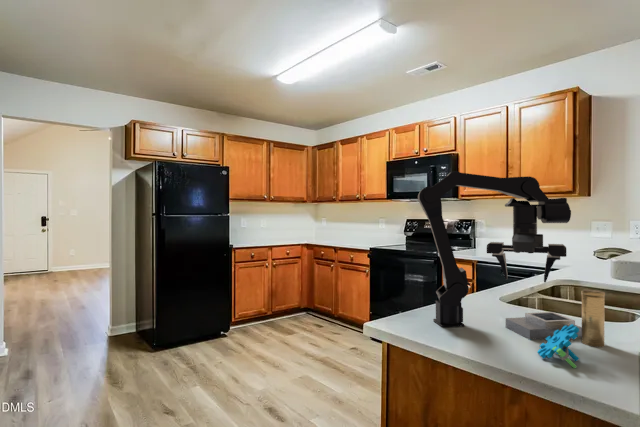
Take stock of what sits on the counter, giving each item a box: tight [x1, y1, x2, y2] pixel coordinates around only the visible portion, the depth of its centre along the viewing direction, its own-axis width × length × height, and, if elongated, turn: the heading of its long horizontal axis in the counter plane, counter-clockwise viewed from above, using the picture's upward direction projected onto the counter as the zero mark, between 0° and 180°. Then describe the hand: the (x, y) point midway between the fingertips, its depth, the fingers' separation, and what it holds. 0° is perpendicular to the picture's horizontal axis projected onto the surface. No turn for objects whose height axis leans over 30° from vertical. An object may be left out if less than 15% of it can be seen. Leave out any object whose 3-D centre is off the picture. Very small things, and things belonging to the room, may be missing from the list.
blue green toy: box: [537, 324, 580, 369], centre depth 81 cm, size 11×6×10 cm
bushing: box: [580, 289, 606, 348], centre depth 90 cm, size 5×5×12 cm
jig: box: [505, 311, 582, 340], centre depth 99 cm, size 14×10×4 cm
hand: (525, 280), depth 103 cm, fingers open, 9 cm apart
